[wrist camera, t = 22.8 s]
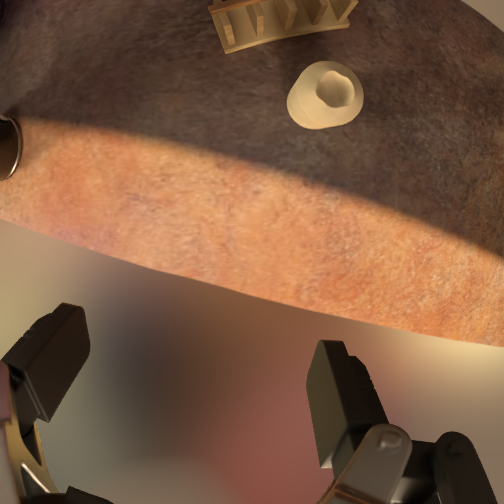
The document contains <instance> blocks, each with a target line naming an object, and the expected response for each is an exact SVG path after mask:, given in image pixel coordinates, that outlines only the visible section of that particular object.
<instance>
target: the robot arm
mask: <svg viewBox="0 0 504 504" xmlns="http://www.w3.org/2000/svg"><path fill="white" fill-rule="evenodd" d="M21 154H22V134H21V130H20V127H19V125H18V123H17V122H16V120H15V119H14V118H12V117H10V116H2V115H0V181H2V180H5V179H8V178H9V177H11V176H12V175H13V173H14V172H15V171H16V169H17V167H18V165H19V162H20V158H21ZM89 352H90V340H89V334H88V329H87V323H86V317H85V312H84V309H83V308H82V307H80V306H76V305H72V304H68V303H61V304H60V305H59V306H58V307H57V308H56V309H55V310H54V311H53V312H52V313H49V314H47V315H45V316H43V317H41V318H40V319H38V320H37V321H36V322H35V323H34V324H33V325H32V326H31V327H30V330H27V331H26V332H25V333H24V335H23V337H21V338H20V339H19V340H18V341H17V342H16V343H15V344H14V346H13V347H12V348H11V349H10V350H9V351H8V352H7V353H6V354H5V356H4V357H3V358H2V359H1V360H0V504H113V503H112V502H110V501H108V500H106V499H104V498H101V497H98V496H95V495H92V494H89V493H86V492H84V491H81V490H79V489H76V488H74V487H71V486H69V487H68V490H67V492H66V494H65V493H59V492H58V490H57V488H56V486H55V485H54V482H53V481H52V479H51V477H50V475H49V472H48V469H47V466H46V462H45V458H44V454H43V450H42V446H41V442H40V437H39V433H38V428H37V425H36V424H35V420H36V419H37V418H39V419H41V420H43V421H45V422H48V423H49V422H50V420H51V418H52V416H53V415H54V413H55V411H56V409H57V408H58V406H59V404H60V403H61V401H62V399H63V397H64V396H65V394H66V392H67V391H68V389H69V387H70V386H71V384H72V382H73V381H74V379H75V377H76V376H77V374H78V373H79V371H80V370H81V368H82V366H83V365H84V363H85V362H86V360H87V358H88V356H89ZM306 389H307V395H308V400H309V406H310V411H311V417H312V423H313V428H314V433H315V439H316V445H317V451H318V456H319V462H320V468H332V469H333V474H334V479H333V481H332V482H331V483H330V485H329V486H328V488H327V489H326V491H325V492H324V493H323V495H322V496H321V498H320V499H319V500H318V501H317V503H316V504H390V502H394V504H440V500H441V503H442V504H498V503H497V501H496V498H495V495H494V493H493V490H492V488H491V485H490V483H489V480H488V478H487V475H486V473H485V471H484V469H483V466H482V464H481V461H480V459H479V457H478V455H477V453H476V450H475V448H474V446H473V444H472V442H471V441H470V440H469V439H468V438H467V437H466V436H465V435H463V434H461V433H458V432H453V431H452V432H446V433H444V434H443V435H441V437H440V438H439V439H438V440H437V441H436V442H435V443H432V442H423V441H415V440H411V439H410V437H409V435H408V434H407V433H406V432H405V431H404V430H403V429H402V428H400V427H398V426H396V425H393V424H389V422H388V419H387V417H386V415H385V412H384V409H383V407H382V405H381V402H380V400H379V397H378V395H377V392H376V390H375V389H374V385H373V383H372V380H370V376H369V373H368V371H367V369H366V366H365V365H364V364H363V363H362V362H361V361H360V360H359V359H358V358H357V357H356V356H349V355H348V352H347V350H346V347H345V345H344V343H343V341H335V340H320V341H319V342H318V344H317V347H316V350H315V353H314V356H313V359H312V363H311V366H310V369H309V372H308V375H307V382H306ZM437 493H438V494H439V497H440V500H439V498H438V494H437Z"/></svg>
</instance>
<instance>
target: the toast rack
mask: <svg viewBox="0 0 504 504" xmlns="http://www.w3.org/2000/svg"><path fill="white" fill-rule="evenodd" d="M213 3H214V4H213V5H210V6H208V9H209V12H210V15H211V16H212V19H213V22H214V24H215V27H216V30H217V32H218V35H219V38H220V41H221V43H222V46H223V49H224V51H225V54H227V53H231V52H234V51H237V50H241V49H244V48H248V47H251V46H255V45H259V44H263V43H267V42H271V41H275V40H279V39H284V38H288V37H293V36H298V35H303V34H309V33H314V32H320V31H327V30H334V29H341V28H348V27H349V25H350V22H349V20H348V18H347V16H348V15H349V13H350V12H351V11H352V10H353V8H354V7H355V6H356V5H357V3H358V0H226V1H223V2H222V0H213Z"/></svg>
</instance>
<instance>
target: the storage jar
mask: <svg viewBox="0 0 504 504" xmlns="http://www.w3.org/2000/svg"><path fill="white" fill-rule="evenodd" d="M6 10H7V2H6V0H0V26H1V24H2V22H3V20H4V17H5V14H6Z"/></svg>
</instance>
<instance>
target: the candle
mask: <svg viewBox="0 0 504 504" xmlns="http://www.w3.org/2000/svg"><path fill="white" fill-rule="evenodd" d="M363 99H364V95H363V89H362V86H361V83H360V81H359V79H358V78H357V76H356V75H355V74H354V73H353V72H352V71H351V70H350V69H349V68H347V67H346V66H344V65H342V64H340V63H337V62H332V61H321V62H317V63H314V64H312V65H310V66H308V67H307V68H306V69H305V70H304V71H303V72H302V73H301V75H300V76H299V78H298V79H297V81H296V82H295V84H294V85H293V87H292V88H291V90H290V92H289V94H288V97H287V108H288V112H289V114H290V116H291V117H292V119H293V120H294V121H295V122H296V123H298V124H299V125H301V126H303V127H305V128H309V129H321V128H326V127H332V126H338V125H342V124H345V123H348V122H350V121H351V120H353V119H354V118H355V117H356V116H357V115H358V113H359V112H360V110H361V108H362V105H363Z"/></svg>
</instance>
